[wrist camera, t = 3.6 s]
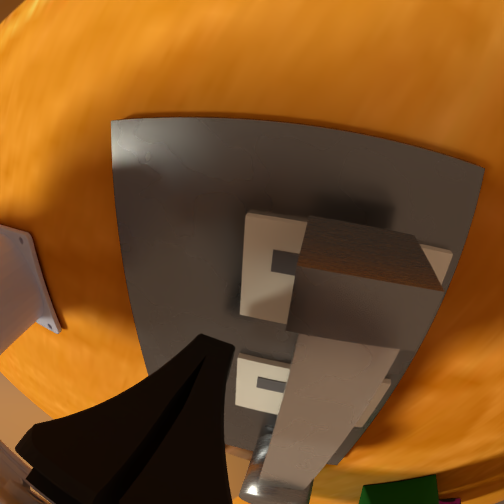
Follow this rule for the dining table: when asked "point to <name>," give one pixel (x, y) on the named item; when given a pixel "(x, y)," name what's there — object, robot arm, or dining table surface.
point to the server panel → (264, 203)
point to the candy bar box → (450, 501)
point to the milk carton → (402, 492)
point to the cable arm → (340, 346)
